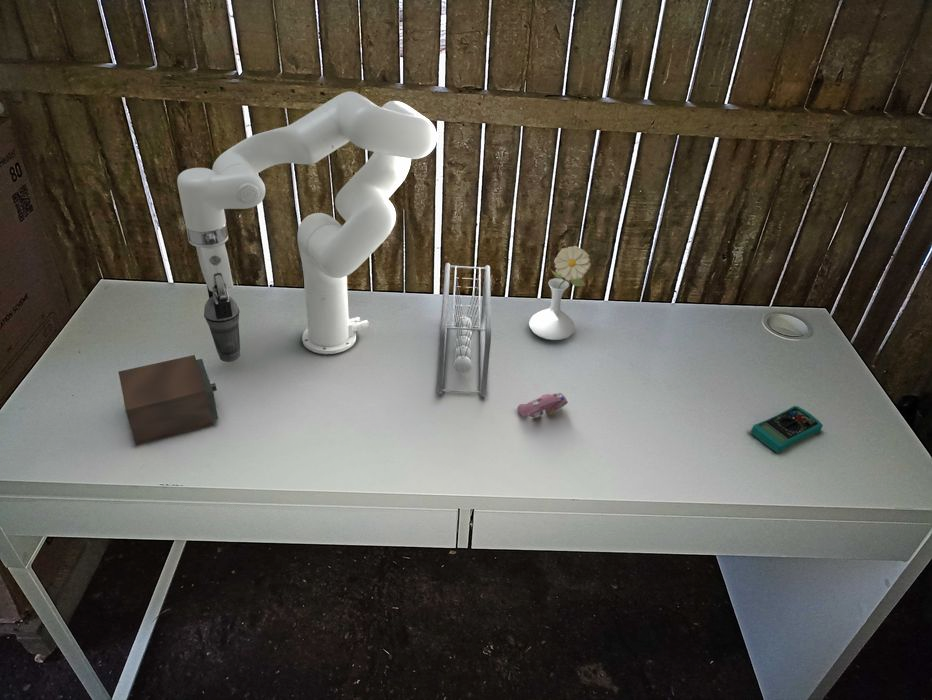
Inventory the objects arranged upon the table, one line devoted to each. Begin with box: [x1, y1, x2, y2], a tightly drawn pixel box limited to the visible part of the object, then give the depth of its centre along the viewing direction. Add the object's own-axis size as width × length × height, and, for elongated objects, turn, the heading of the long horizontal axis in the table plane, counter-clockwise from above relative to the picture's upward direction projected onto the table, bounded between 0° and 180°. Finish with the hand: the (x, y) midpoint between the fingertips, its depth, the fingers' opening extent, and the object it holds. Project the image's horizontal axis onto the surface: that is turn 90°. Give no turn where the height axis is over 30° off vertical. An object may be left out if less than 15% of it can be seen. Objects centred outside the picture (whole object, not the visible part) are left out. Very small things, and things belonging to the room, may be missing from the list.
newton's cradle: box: [436, 262, 492, 398], centre depth 163 cm, size 30×10×18 cm, turn 179°
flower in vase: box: [528, 245, 591, 341], centre depth 171 cm, size 13×11×25 cm
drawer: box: [196, 358, 219, 421], centre depth 145 cm, size 15×11×7 cm
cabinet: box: [118, 354, 214, 446], centre depth 144 cm, size 15×13×9 cm
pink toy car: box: [517, 392, 569, 419], centre depth 152 cm, size 10×5×7 cm, turn 117°
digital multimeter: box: [750, 405, 824, 454], centre depth 152 cm, size 7×15×3 cm, turn 122°
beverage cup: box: [203, 294, 241, 363], centre depth 153 cm, size 7×7×20 cm
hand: (220, 307), depth 152 cm, fingers closed on beverage cup, 6 cm apart
